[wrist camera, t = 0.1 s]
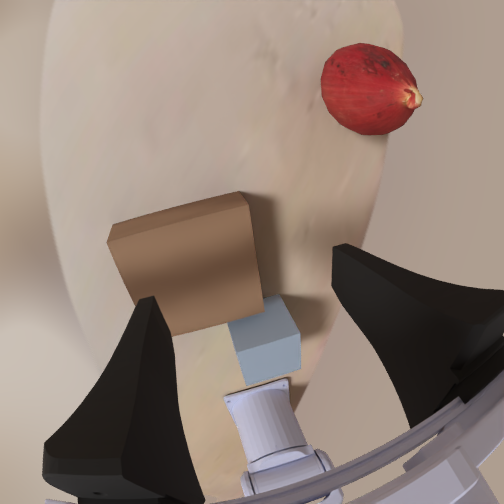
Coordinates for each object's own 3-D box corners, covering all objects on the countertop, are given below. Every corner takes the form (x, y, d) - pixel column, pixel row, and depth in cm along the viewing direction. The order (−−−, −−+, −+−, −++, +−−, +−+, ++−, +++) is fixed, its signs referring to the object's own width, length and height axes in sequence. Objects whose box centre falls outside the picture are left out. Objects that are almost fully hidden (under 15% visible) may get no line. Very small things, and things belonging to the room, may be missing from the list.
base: (254, 288, 25) (264, 311, 22) (153, 315, 24) (153, 340, 21) (237, 189, 20) (248, 204, 18) (113, 222, 19) (106, 242, 16)
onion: (285, 62, 16) (357, 52, 9) (352, 40, 16) (435, 33, 9) (318, 137, 19) (392, 168, 12) (378, 109, 19) (458, 130, 12)
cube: (282, 330, 28) (300, 368, 24) (233, 345, 27) (246, 385, 23) (278, 293, 26) (300, 332, 21) (223, 308, 25) (236, 352, 21)
